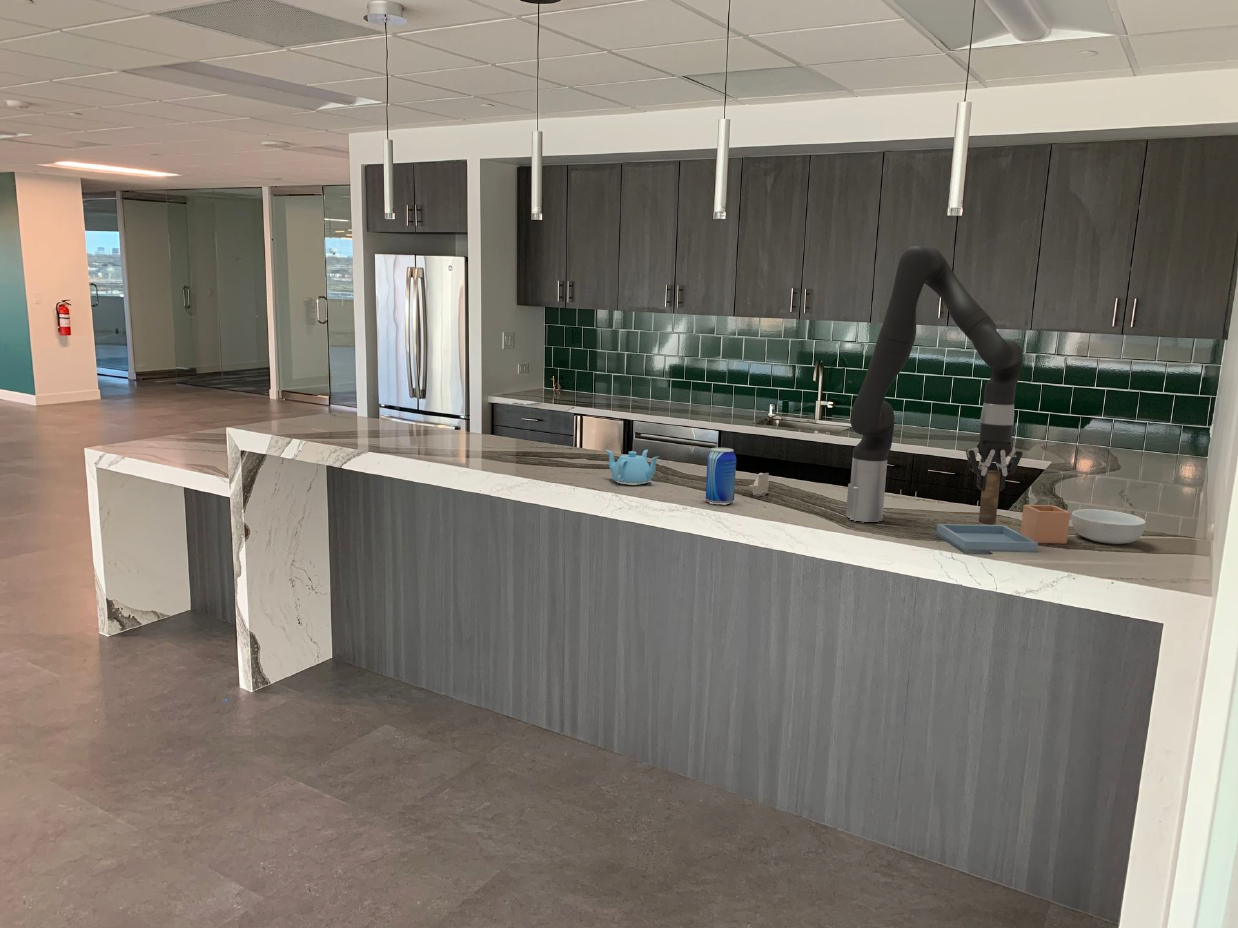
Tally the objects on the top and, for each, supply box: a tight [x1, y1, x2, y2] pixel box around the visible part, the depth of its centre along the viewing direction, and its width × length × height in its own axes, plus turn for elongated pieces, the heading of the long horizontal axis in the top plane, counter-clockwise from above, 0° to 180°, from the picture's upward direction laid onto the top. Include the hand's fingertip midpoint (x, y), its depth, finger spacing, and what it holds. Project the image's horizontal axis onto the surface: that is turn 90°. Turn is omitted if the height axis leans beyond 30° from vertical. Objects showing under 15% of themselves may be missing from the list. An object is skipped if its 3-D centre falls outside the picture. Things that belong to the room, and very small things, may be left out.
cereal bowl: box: [1070, 508, 1146, 545], centre depth 240 cm, size 17×17×7 cm
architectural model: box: [748, 472, 770, 494], centre depth 286 cm, size 3×7×7 cm, turn 139°
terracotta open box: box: [1020, 504, 1071, 545], centre depth 238 cm, size 8×8×9 cm
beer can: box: [705, 447, 737, 504], centre depth 272 cm, size 8×8×16 cm
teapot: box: [605, 448, 661, 483], centre depth 299 cm, size 15×15×10 cm
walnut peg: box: [978, 469, 1001, 525], centre depth 232 cm, size 4×4×13 cm
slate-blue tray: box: [935, 523, 1039, 555], centre depth 234 cm, size 18×18×3 cm
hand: (990, 489), depth 231 cm, fingers closed on walnut peg, 4 cm apart
